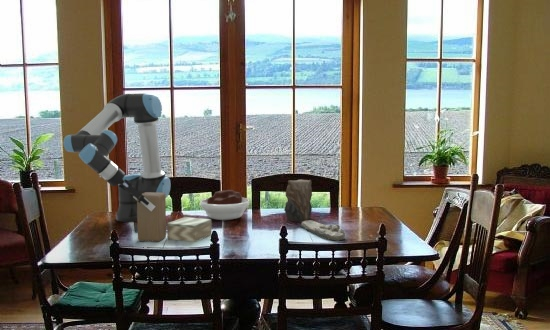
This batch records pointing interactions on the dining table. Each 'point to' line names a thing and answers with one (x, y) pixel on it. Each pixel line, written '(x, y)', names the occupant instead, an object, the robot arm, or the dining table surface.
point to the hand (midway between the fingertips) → (149, 206)
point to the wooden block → (152, 218)
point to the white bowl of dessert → (225, 205)
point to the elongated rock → (324, 230)
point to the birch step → (189, 229)
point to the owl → (298, 200)
